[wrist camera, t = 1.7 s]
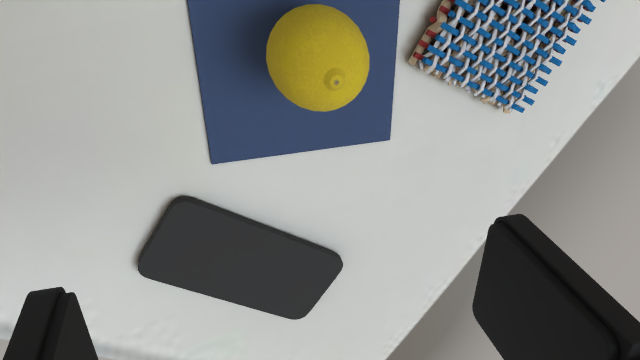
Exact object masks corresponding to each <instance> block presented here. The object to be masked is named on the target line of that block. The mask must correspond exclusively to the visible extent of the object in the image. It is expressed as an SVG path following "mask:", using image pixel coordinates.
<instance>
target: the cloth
mask: <svg viewBox="0 0 640 360" xmlns="http://www.w3.org/2000/svg"><path fill="white" fill-rule="evenodd" d="M187 2H188V9H189V16H190V22H191V29H192V36H193V42H194V49H195V56H196V62H197V69H198V76H199V83H200V89H201V96H202V103H203V109H204V116H205V123H206V129H207V136H208V143H209V150H210V156H211V163H212V164H218V163H225V162H233V161H240V160H247V159H255V158H262V157H269V156H277V155H284V154H291V153H298V152H306V151H313V150H320V149H328V148H335V147H342V146H350V145H357V144H364V143H372V142H379V141H386V140H390V132H391V117H392V103H393V89H394V75H395V61H396V47H397V32H398V18H399V4H400V0H187ZM306 4H322V5H326V6H330V7H333V8H335V9H337V10H339V11H341V12H342V13H344V14H346V15H347V16H348V17H349V18H350V19H351V20H352V21H353V22H354V23H355V24H356V25H357V26H358V28H359V29H360V31H361V33H362V35H363V37H364V39H365V41H366V44H367V48H368V52H369V72H368V76H367V79H366V82H365V84H364V86H363V88H362V90H361V91H360V92H359V94H358V95H357V96H356V97H355V98H354V99H353V100H352V101H350V102H349V103H348V104H346V105H345V106H343V107H340V108H338V109H336V110H331V111H326V112H322V111H311V110H308V109H305V108H302V107H299V106H298V105H296V104H294V103H293V102H291V101H290V100H288V99H287V98H286V97H285V96H284V95H283V94H282V93H281V92H280V91H279V90H278V89H277V87H276V86H275V84H274V82H273V80H272V78H271V76H270V74H269V70H268V66H267V61H266V49H267V43H268V39H269V36H270V33H271V31H272V29H273V28H274V26H275V24H276V23H277V22H278V20H279V19H280V18H281V17H282V16H283V15H284V14H286V13H287V12H289V11H291V10H292V9H294V8H297V7H300V6H303V5H306Z"/></svg>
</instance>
